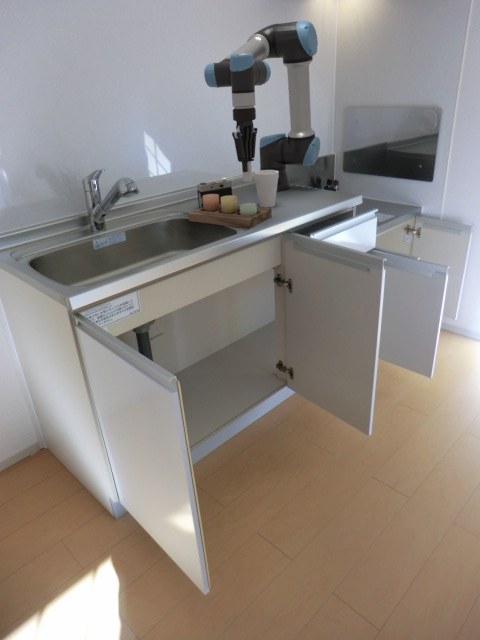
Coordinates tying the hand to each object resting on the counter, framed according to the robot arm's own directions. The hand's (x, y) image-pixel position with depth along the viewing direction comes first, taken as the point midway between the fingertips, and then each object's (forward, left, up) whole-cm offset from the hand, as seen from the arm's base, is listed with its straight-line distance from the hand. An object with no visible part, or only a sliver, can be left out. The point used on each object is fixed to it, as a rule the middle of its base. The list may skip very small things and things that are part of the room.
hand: (247, 180), depth 168 cm
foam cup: (-23, -5, -14) cm, 27 cm away
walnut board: (0, -8, -14) cm, 16 cm away
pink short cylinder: (0, -16, -11) cm, 20 cm away
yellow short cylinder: (0, -8, -11) cm, 14 cm away
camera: (-16, -26, -15) cm, 34 cm away
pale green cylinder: (0, 0, -13) cm, 13 cm away
